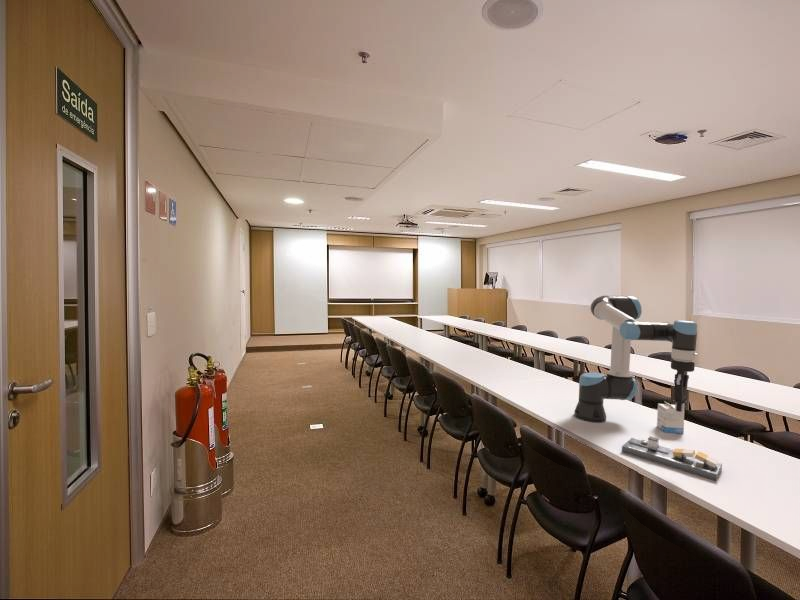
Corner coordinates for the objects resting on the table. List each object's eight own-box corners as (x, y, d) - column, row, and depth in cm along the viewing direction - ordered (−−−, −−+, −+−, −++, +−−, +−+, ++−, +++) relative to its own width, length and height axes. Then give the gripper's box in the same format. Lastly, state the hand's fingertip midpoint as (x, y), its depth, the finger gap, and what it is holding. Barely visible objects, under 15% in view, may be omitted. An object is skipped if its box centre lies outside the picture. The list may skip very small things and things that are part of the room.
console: (621, 451, 161) (622, 443, 161) (631, 443, 170) (631, 435, 170) (716, 481, 139) (717, 471, 139) (721, 469, 148) (722, 460, 148)
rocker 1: (673, 456, 151) (672, 452, 151) (676, 452, 155) (675, 448, 155) (692, 457, 147) (691, 453, 147) (695, 453, 151) (694, 449, 151)
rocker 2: (694, 458, 146) (695, 454, 146) (697, 453, 150) (698, 450, 150) (714, 468, 142) (716, 464, 142) (717, 463, 146) (718, 460, 145)
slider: (647, 448, 159) (647, 438, 159) (649, 445, 161) (650, 436, 161) (656, 450, 156) (657, 440, 156) (658, 448, 159) (659, 438, 158)
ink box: (683, 434, 183) (685, 406, 182) (664, 432, 184) (666, 405, 184) (674, 427, 191) (676, 401, 190) (656, 425, 193) (657, 399, 192)
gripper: (691, 364, 144) (687, 425, 145) (697, 359, 152) (693, 417, 154) (667, 360, 149) (663, 419, 150) (675, 356, 158) (671, 412, 159)
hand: (678, 418), depth 152 cm, fingers closed
